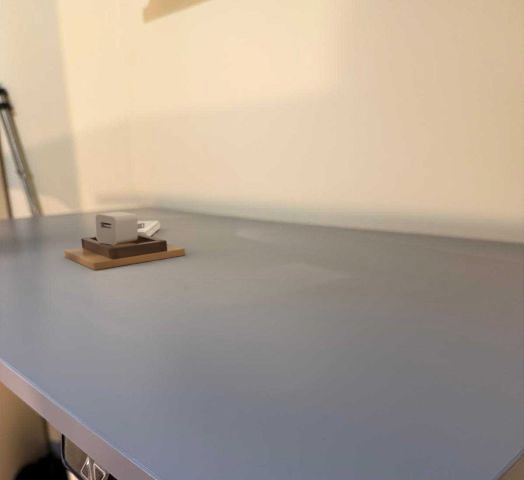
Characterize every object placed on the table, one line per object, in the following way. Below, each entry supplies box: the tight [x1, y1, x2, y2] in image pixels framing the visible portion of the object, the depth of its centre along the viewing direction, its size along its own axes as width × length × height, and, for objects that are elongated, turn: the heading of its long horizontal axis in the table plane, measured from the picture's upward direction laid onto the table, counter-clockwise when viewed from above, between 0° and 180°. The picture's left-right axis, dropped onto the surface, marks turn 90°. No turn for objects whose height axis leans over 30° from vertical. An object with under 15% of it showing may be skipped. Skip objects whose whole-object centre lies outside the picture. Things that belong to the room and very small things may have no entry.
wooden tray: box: [63, 233, 186, 271], centre depth 80 cm, size 12×14×2 cm
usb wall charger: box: [94, 211, 145, 245], centre depth 79 cm, size 4×7×4 cm, turn 150°
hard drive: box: [137, 220, 161, 237], centre depth 98 cm, size 2×8×12 cm
